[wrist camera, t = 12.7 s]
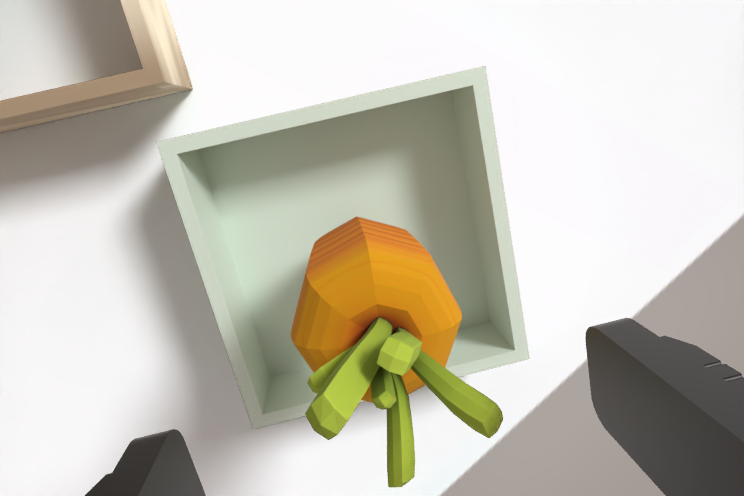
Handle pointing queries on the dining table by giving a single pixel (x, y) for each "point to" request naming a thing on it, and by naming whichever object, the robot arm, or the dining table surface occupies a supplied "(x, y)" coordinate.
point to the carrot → (381, 336)
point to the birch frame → (154, 80)
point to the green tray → (337, 206)
